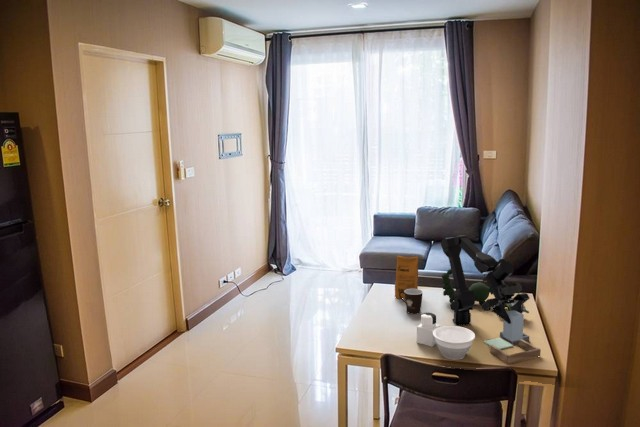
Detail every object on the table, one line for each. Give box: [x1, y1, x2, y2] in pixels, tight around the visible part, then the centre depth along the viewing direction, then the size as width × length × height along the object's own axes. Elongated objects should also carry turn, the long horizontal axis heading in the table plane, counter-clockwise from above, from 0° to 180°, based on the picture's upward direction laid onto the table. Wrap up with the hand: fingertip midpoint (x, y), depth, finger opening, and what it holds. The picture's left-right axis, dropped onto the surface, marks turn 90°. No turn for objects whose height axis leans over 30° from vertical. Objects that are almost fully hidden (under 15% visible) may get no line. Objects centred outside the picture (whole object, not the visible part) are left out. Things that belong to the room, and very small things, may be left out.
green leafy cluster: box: [496, 303, 530, 318], centre depth 223 cm, size 11×11×12 cm
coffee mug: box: [399, 288, 424, 315], centre depth 237 cm, size 12×9×10 cm
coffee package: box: [394, 255, 419, 300], centre depth 255 cm, size 10×12×22 cm
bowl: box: [433, 325, 476, 361], centre depth 191 cm, size 16×16×9 cm
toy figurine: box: [441, 268, 491, 306], centre depth 242 cm, size 9×19×25 cm
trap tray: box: [499, 331, 530, 346], centre depth 203 cm, size 8×8×2 cm
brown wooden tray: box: [489, 340, 542, 365], centre depth 189 cm, size 10×15×3 cm
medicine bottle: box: [416, 312, 441, 348], centre depth 202 cm, size 7×7×12 cm
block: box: [502, 310, 525, 342], centre depth 189 cm, size 5×5×10 cm
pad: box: [483, 337, 514, 350], centre depth 199 cm, size 8×8×1 cm
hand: (515, 322), depth 188 cm, fingers closed on block, 5 cm apart
